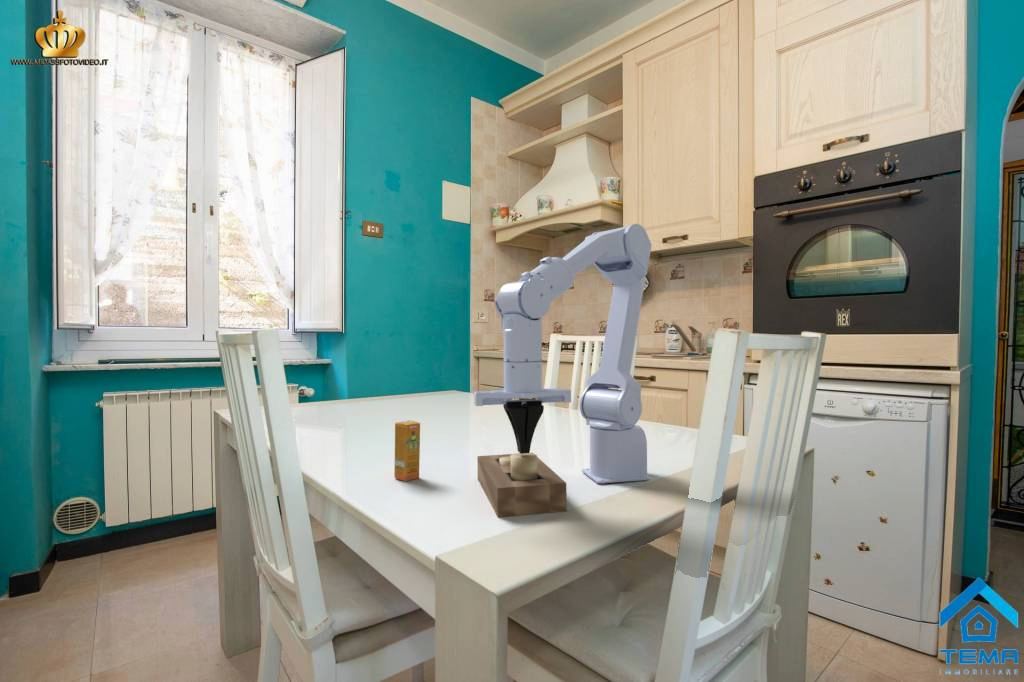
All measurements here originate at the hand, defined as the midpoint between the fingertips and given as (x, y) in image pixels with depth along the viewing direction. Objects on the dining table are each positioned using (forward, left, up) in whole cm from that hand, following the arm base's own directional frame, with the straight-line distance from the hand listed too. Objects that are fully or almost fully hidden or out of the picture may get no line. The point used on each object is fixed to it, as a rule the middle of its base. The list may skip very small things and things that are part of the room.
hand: (523, 452), depth 75 cm
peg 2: (0, 0, -5) cm, 5 cm away
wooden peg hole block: (0, -5, -8) cm, 9 cm away
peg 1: (0, -9, -7) cm, 11 cm away
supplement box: (+17, -18, -8) cm, 26 cm away
